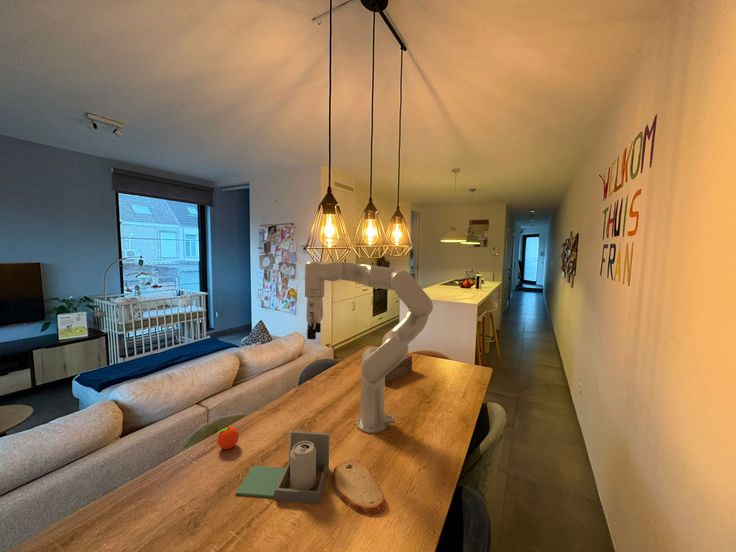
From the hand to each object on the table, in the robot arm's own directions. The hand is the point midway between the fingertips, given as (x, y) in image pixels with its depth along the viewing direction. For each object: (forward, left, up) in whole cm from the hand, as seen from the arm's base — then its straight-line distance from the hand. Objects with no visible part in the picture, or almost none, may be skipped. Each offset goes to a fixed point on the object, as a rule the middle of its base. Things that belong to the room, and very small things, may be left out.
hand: (314, 335), depth 120 cm
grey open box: (-5, +33, -36) cm, 49 cm away
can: (-5, +33, -36) cm, 49 cm away
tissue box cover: (-30, -54, -37) cm, 71 cm away
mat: (+7, +33, -36) cm, 49 cm away
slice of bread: (-22, +31, -37) cm, 53 cm away
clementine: (+26, +19, -36) cm, 49 cm away
